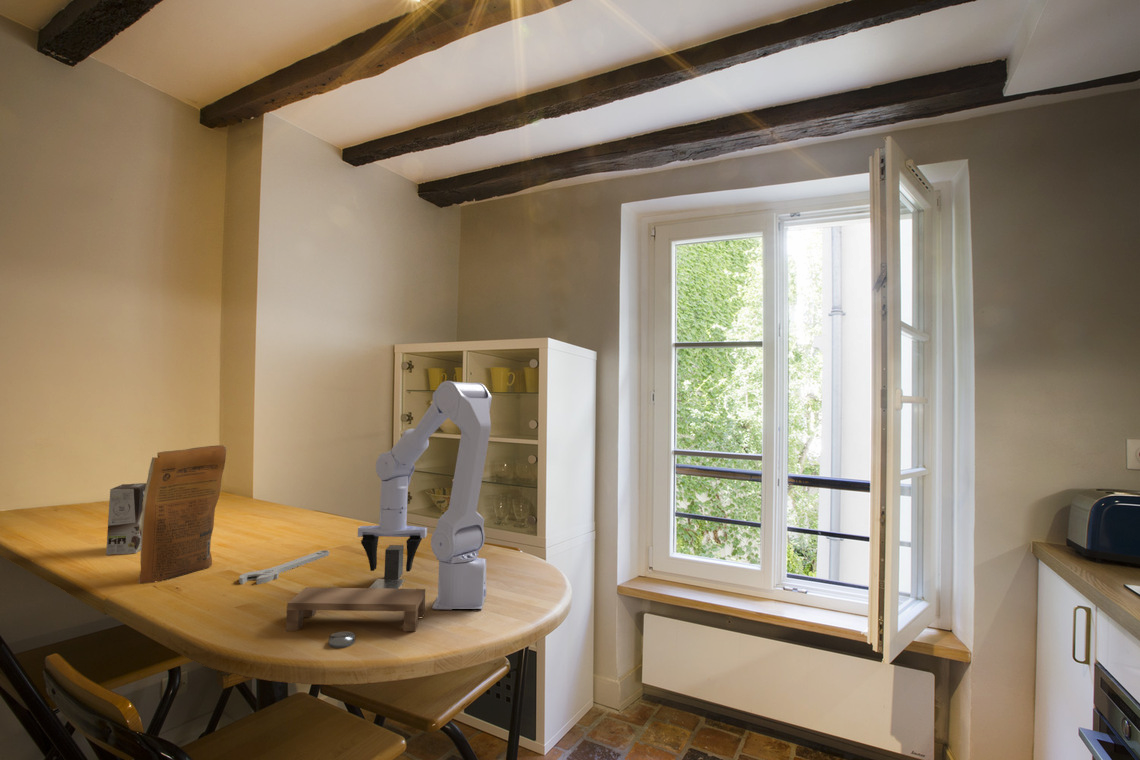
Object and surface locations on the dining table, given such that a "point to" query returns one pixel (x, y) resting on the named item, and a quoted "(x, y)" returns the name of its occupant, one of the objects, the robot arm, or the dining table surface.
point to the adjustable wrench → (280, 568)
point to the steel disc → (341, 639)
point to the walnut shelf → (356, 603)
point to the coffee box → (125, 519)
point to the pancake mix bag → (180, 512)
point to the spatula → (392, 569)
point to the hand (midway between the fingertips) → (391, 569)
